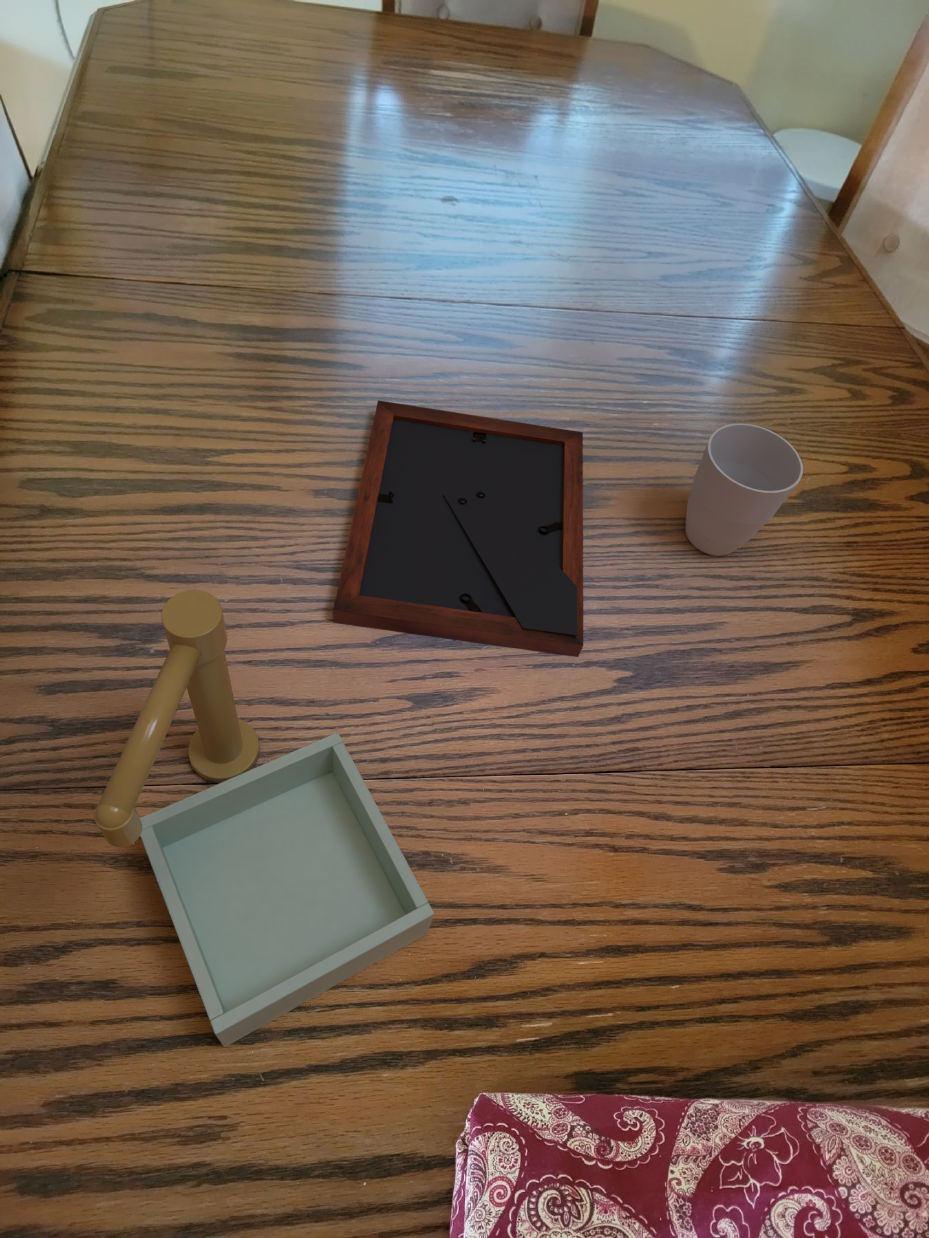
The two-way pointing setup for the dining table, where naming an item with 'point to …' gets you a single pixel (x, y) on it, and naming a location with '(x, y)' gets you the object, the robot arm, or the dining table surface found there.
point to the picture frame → (467, 531)
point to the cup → (739, 486)
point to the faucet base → (218, 725)
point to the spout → (160, 708)
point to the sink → (282, 885)
